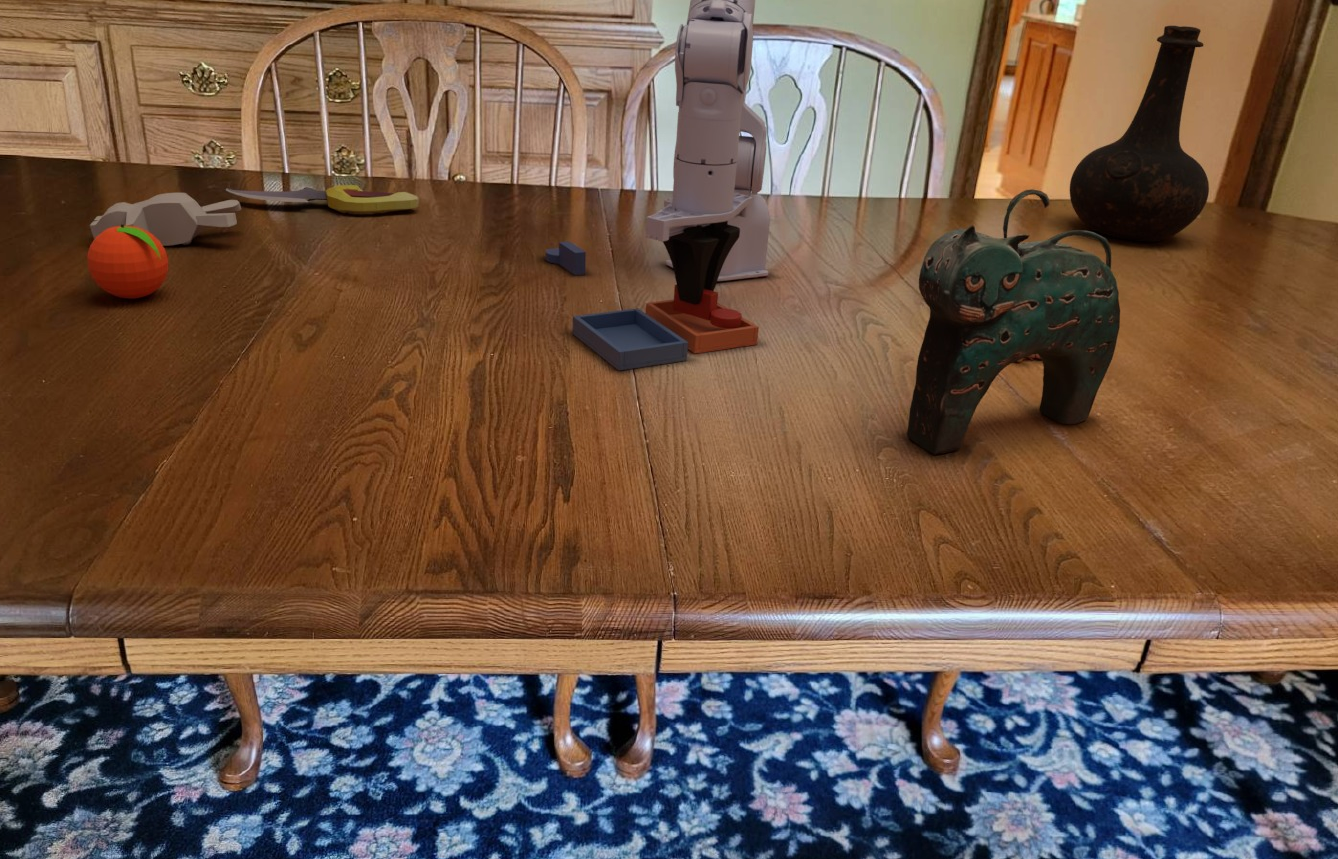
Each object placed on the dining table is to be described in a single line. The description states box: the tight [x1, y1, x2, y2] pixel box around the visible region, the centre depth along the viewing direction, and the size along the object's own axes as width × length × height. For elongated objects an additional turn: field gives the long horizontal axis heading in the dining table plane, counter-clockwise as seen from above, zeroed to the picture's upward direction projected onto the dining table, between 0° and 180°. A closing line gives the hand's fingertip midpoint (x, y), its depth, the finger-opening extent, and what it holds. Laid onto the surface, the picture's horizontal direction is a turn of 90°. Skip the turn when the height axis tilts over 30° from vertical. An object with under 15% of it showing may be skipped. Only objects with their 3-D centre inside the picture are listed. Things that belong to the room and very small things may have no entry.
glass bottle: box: [1069, 25, 1210, 243], centre depth 145 cm, size 18×18×28 cm
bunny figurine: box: [89, 192, 242, 247], centre depth 118 cm, size 10×5×15 cm
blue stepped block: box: [545, 241, 587, 276], centre depth 120 cm, size 7×3×3 cm, turn 29°
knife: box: [225, 184, 420, 214], centre depth 136 cm, size 8×3×25 cm
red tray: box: [645, 299, 760, 354], centre depth 103 cm, size 7×10×2 cm
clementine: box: [87, 224, 169, 300], centre depth 100 cm, size 8×7×7 cm
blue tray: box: [572, 307, 688, 372], centre depth 98 cm, size 7×10×2 cm
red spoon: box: [673, 284, 743, 328], centre depth 102 cm, size 7×3×3 cm, turn 53°
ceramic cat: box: [906, 188, 1121, 456], centre depth 82 cm, size 20×6×20 cm, turn 117°
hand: (695, 299), depth 103 cm, fingers closed on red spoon
